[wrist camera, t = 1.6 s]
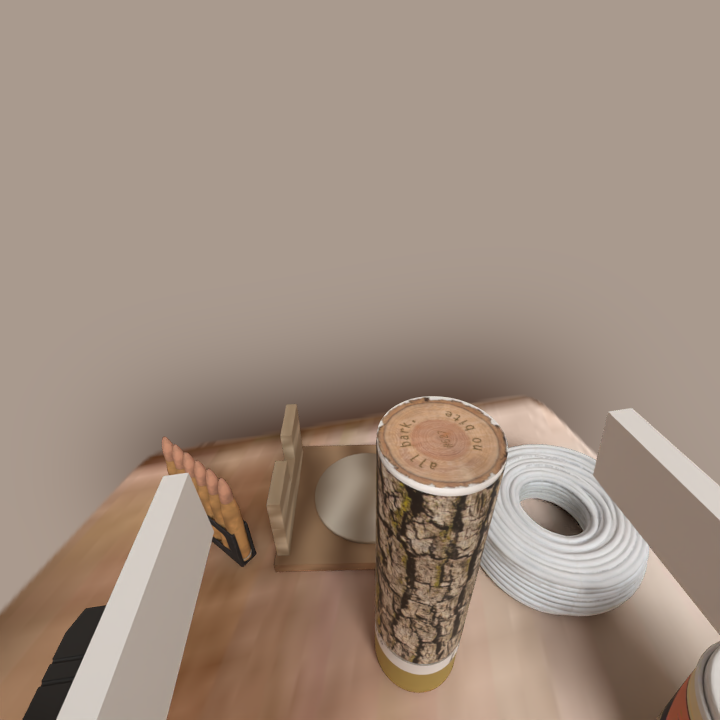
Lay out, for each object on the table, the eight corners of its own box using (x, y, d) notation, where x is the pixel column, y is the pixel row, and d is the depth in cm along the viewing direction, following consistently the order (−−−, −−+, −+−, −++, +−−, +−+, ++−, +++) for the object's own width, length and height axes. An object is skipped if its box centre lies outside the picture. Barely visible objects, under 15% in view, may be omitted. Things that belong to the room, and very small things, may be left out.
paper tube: (382, 703, 32) (390, 498, 18) (368, 612, 38) (367, 402, 24) (465, 688, 33) (533, 479, 19) (440, 600, 39) (478, 390, 25)
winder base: (275, 571, 41) (262, 514, 36) (294, 453, 55) (286, 399, 49) (435, 567, 41) (443, 510, 36) (414, 450, 55) (419, 396, 50)
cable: (607, 482, 50) (624, 447, 47) (669, 642, 36) (700, 607, 32) (460, 464, 53) (466, 429, 50) (463, 605, 39) (472, 570, 35)
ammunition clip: (257, 553, 43) (235, 476, 36) (243, 568, 42) (218, 490, 35) (195, 503, 48) (166, 427, 42) (181, 514, 47) (149, 438, 40)
